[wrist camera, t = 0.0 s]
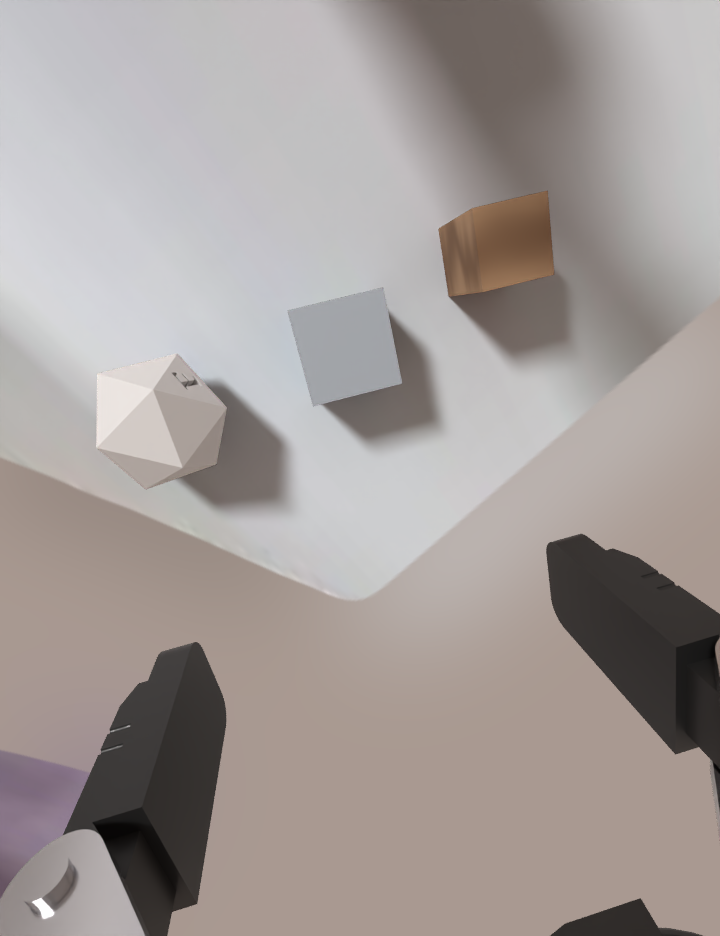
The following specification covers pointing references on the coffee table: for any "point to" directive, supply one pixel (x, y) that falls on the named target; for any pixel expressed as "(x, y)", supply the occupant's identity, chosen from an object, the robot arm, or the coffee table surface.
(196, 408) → the die
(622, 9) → the coffee table surface
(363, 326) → the grey block
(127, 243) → the coffee table surface
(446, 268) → the walnut block
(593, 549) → the robot arm
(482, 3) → the coffee table surface
